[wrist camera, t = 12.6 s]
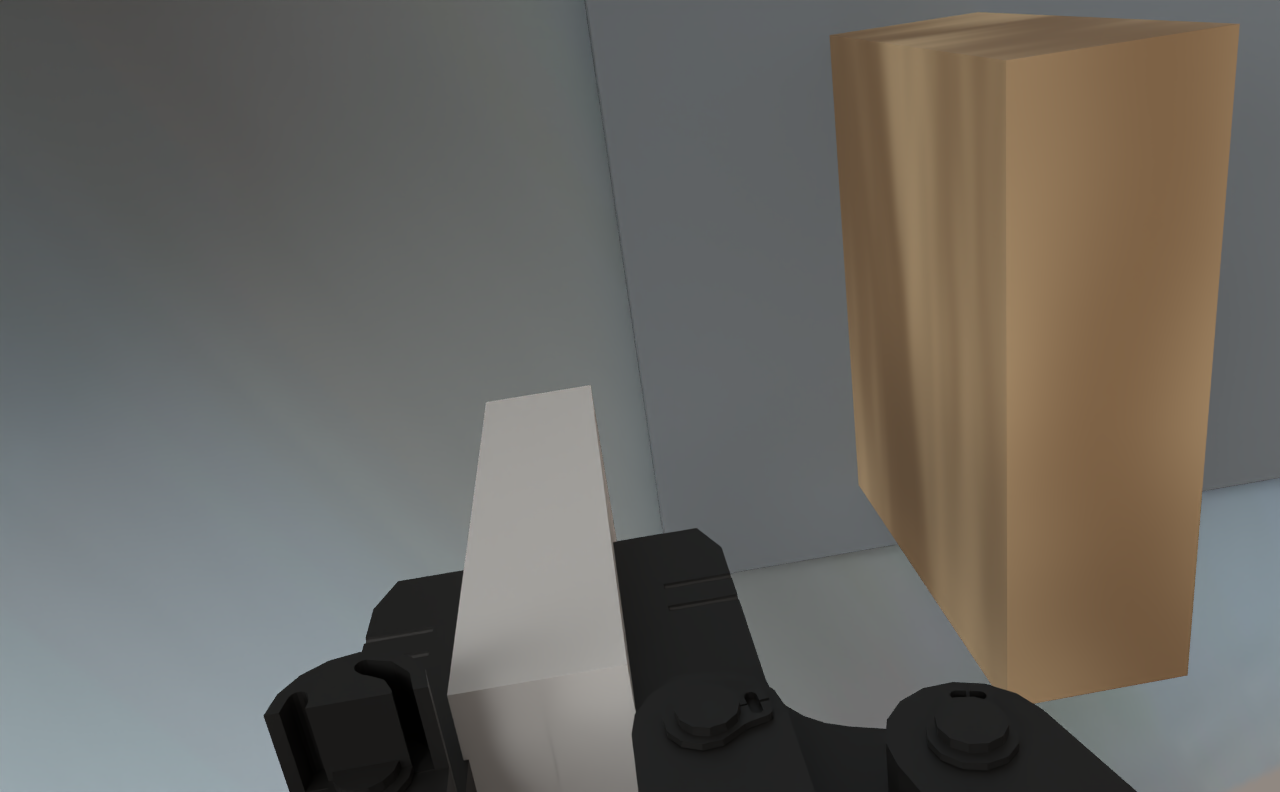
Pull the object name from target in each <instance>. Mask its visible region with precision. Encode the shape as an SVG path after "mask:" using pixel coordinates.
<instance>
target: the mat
mask: <svg viewBox="0 0 1280 792" xmlns="http://www.w3.org/2000/svg"><path fill="white" fill-rule="evenodd" d="M584 1H585V8H586V15H587V21H588V28H589V35H590V42H591V48H592V55H593V62H594V69H595V76H596V82H597V89H598V96H599V103H600V109H601V116H602V123H603V130H604V136H605V143H606V150H607V157H608V164H609V170H610V177H611V184H612V191H613V197H614V204H615V211H616V218H617V224H618V231H619V238H620V245H621V251H622V258H623V265H624V272H625V279H626V285H627V292H628V299H629V306H630V312H631V319H632V326H633V333H634V339H635V346H636V353H637V360H638V367H639V373H640V380H641V387H642V394H643V400H644V407H645V414H646V421H647V427H648V434H649V441H650V448H651V455H652V461H653V468H654V475H655V482H656V488H657V495H658V502H659V509H660V515H661V522H662V529H663V534H664V533H669V532H675V531H681V530H687V529H693V528H697V529H699V530H700V531H701V532H703V533H704V534H705V535H707V536H708V537H709V538H710V539H712V540H713V541H714V542H716V543H717V544H718V545H719V546H721V547H722V550H723V553H724V556H725V559H726V562H727V565H728V568H729V571H730V573H735V572H741V571H747V570H752V569H758V568H764V567H770V566H775V565H781V564H787V563H793V562H798V561H804V560H810V559H816V558H821V557H827V556H833V555H839V554H844V553H850V552H856V551H862V550H867V549H873V548H879V547H885V546H890V545H896V544H898V543H897V542H896V540H895V539H894V537H893V536H892V534H891V533H890V531H889V530H888V528H887V527H886V525H885V524H884V522H883V521H882V519H881V518H880V516H879V515H878V513H877V512H876V510H875V509H874V507H873V506H872V504H871V503H870V501H869V500H868V498H867V497H866V495H865V494H864V492H863V491H862V489H861V488H860V486H859V483H858V468H857V452H856V437H855V421H854V406H853V390H852V375H851V359H850V344H849V329H848V313H847V298H846V282H845V267H844V251H843V236H842V220H841V205H840V190H839V174H838V159H837V143H836V128H835V112H834V97H833V82H832V66H831V51H830V35H834V34H840V33H847V32H853V31H859V30H866V29H872V28H879V27H885V26H892V25H898V24H905V23H911V22H918V21H924V20H931V19H937V18H943V17H950V16H956V15H963V14H969V13H976V12H987V13H1009V14H1032V15H1054V16H1076V17H1099V18H1121V19H1144V20H1166V21H1188V22H1211V23H1233V24H1240V27H1239V40H1238V52H1237V65H1236V77H1235V89H1234V102H1233V114H1232V127H1231V139H1230V152H1229V164H1228V177H1227V189H1226V201H1225V214H1224V226H1223V239H1222V251H1221V264H1220V276H1219V289H1218V301H1217V313H1216V326H1215V338H1214V351H1213V363H1212V376H1211V388H1210V400H1209V413H1208V425H1207V438H1206V450H1205V463H1204V475H1203V488H1202V491H1206V490H1212V489H1218V488H1224V487H1229V486H1235V485H1241V484H1246V483H1252V482H1258V481H1264V480H1269V479H1275V478H1280V0H584Z"/></svg>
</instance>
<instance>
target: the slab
mask: <svg viewBox="0 0 1280 792" xmlns="http://www.w3.org/2000/svg"><path fill="white" fill-rule="evenodd" d="M1239 27H1240V24H1233V23H1211V22H1188V21H1166V20H1144V19H1121V18H1099V17H1076V16H1054V15H1032V14H1009V13H987V12H976V13H969V14H963V15H956V16H950V17H943V18H937V19H931V20H924V21H918V22H911V23H905V24H898V25H892V26H885V27H879V28H872V29H866V30H859V31H853V32H847V33H840V34H834V35H830V51H831V66H832V82H833V97H834V112H835V128H836V143H837V159H838V174H839V190H840V205H841V220H842V236H843V251H844V267H845V282H846V298H847V313H848V329H849V344H850V359H851V375H852V390H853V406H854V421H855V437H856V452H857V468H858V483H859V486H860V488H861V489H862V491H863V492H864V494H865V495H866V497H867V498H868V500H869V501H870V503H871V504H872V506H873V507H874V509H875V510H876V512H877V513H878V515H879V516H880V518H881V519H882V521H883V522H884V524H885V525H886V527H887V528H888V530H889V531H890V533H891V534H892V536H893V537H894V539H895V540H896V542H897V543H898V545H899V546H900V548H901V549H902V551H903V552H904V554H905V555H906V557H907V558H908V560H909V561H910V563H911V564H912V566H913V567H914V569H915V570H916V572H917V573H918V575H919V576H920V578H921V579H922V581H923V582H924V584H925V585H926V587H927V588H928V590H929V591H930V593H931V594H932V596H933V597H934V599H935V600H936V602H937V603H938V605H939V606H940V608H941V609H942V611H943V613H944V614H945V616H946V617H947V619H948V620H949V622H950V623H951V625H952V626H953V628H954V629H955V631H956V632H957V634H958V635H959V637H960V638H961V640H962V641H963V643H964V644H965V646H966V647H967V649H968V650H969V652H970V653H971V655H972V656H973V658H974V659H975V661H976V662H977V664H978V665H979V667H980V668H981V670H982V671H983V673H984V674H985V676H986V677H987V679H988V680H989V682H990V683H991V685H992V686H994V687H998V688H1001V689H1004V690H1008V691H1011V692H1014V693H1017V694H1019V695H1020V696H1022V697H1023V698H1025V699H1027V700H1028V701H1030V702H1031V703H1033V704H1034V703H1039V702H1045V701H1050V700H1056V699H1061V698H1067V697H1072V696H1077V695H1083V694H1088V693H1094V692H1099V691H1105V690H1110V689H1116V688H1121V687H1127V686H1132V685H1137V684H1143V683H1148V682H1154V681H1159V680H1165V679H1170V678H1176V677H1181V676H1186V675H1187V674H1188V662H1189V649H1190V637H1191V624H1192V612H1193V600H1194V587H1195V575H1196V562H1197V550H1198V537H1199V525H1200V512H1201V500H1202V488H1203V475H1204V463H1205V450H1206V438H1207V425H1208V413H1209V400H1210V388H1211V376H1212V363H1213V351H1214V338H1215V326H1216V313H1217V301H1218V289H1219V276H1220V264H1221V251H1222V239H1223V226H1224V214H1225V201H1226V189H1227V177H1228V164H1229V152H1230V139H1231V127H1232V114H1233V102H1234V89H1235V77H1236V65H1237V52H1238V40H1239Z"/></svg>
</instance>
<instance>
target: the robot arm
mask: <svg viewBox="0 0 1280 792" xmlns="http://www.w3.org/2000/svg"><path fill="white" fill-rule="evenodd" d="M264 718H265V721H266V724H267V727H268V730H269V733H270V736H271V739H272V742H273V745H274V748H275V751H276V753H277V756H278V759H279V762H280V765H281V768H282V771H283V774H284V777H285V780H286V783H287V786H288V789H289V791H290V792H1137V791H1135V790H1134V789H1133V788H1132V787H1131V786H1130V785H1129V784H1127V783H1126V782H1125V781H1124V780H1123V779H1122V778H1121V777H1119V776H1118V775H1117V774H1116V773H1115V772H1114V771H1113V770H1111V769H1110V768H1109V767H1108V766H1107V765H1106V764H1105V763H1103V762H1102V761H1101V760H1100V759H1099V758H1098V757H1097V756H1095V755H1094V754H1093V753H1092V752H1091V751H1090V750H1088V749H1087V748H1086V747H1085V746H1084V745H1083V744H1082V743H1080V742H1079V741H1078V740H1077V739H1076V738H1075V737H1074V736H1072V735H1071V734H1070V733H1069V732H1068V731H1067V730H1066V729H1064V728H1063V727H1062V726H1061V725H1060V724H1059V723H1058V722H1056V721H1055V720H1054V719H1053V718H1052V717H1051V716H1050V715H1048V714H1047V713H1046V712H1045V711H1044V710H1043V709H1041V708H1039V707H1038V706H1036V705H1035V704H1033V703H1031V702H1030V701H1028V700H1027V699H1025V698H1023V697H1022V696H1020V695H1019V694H1017V693H1014V692H1011V691H1008V690H1004V689H1001V688H998V687H994V686H991V685H988V684H979V683H959V682H951V683H946V684H941V685H937V686H932V687H927V688H923V689H921V690H919V691H918V692H916V693H914V694H912V695H911V696H909V697H907V698H905V699H903V700H902V701H900V702H899V704H898V705H897V707H896V708H895V709H894V711H893V712H892V714H891V715H890V716H889V718H888V719H887V728H886V729H879V728H863V727H848V726H842V725H835V724H828V723H823V722H820V721H817V720H814V719H811V718H808V717H805V716H803V715H801V714H799V713H798V712H796V711H794V710H792V709H791V708H789V707H787V706H786V705H785V704H784V703H783V702H782V701H781V699H780V698H779V696H778V695H777V693H776V692H775V690H773V689H772V688H770V687H769V685H768V683H767V681H766V679H765V676H764V673H763V670H762V667H761V664H760V661H759V658H758V655H757V652H756V649H755V646H754V643H753V640H752V637H751V634H750V631H749V628H748V625H747V622H746V619H745V616H744V613H743V610H742V607H741V604H740V601H739V600H738V597H737V592H736V589H735V586H734V583H733V580H732V578H731V576H730V571H729V568H728V565H727V562H726V559H725V556H724V553H723V550H722V547H721V546H719V545H718V544H717V543H716V542H714V541H713V540H712V539H710V538H709V537H708V536H707V535H705V534H704V533H703V532H701V531H700V530H699V529H697V528H693V529H687V530H681V531H675V532H669V533H664V534H658V535H652V536H646V537H640V538H634V539H628V540H622V541H617V540H616V534H615V528H614V522H613V516H612V511H611V505H610V499H609V493H608V487H607V481H606V475H605V469H604V463H603V457H602V451H601V445H600V439H599V433H598V427H597V421H596V415H595V409H594V404H593V398H592V392H591V386H590V385H588V386H582V387H575V388H569V389H563V390H557V391H551V392H545V393H539V394H532V395H526V396H520V397H514V398H508V399H502V400H496V401H489V402H486V407H485V414H484V422H483V429H482V437H481V444H480V452H479V459H478V467H477V474H476V482H475V489H474V497H473V504H472V512H471V519H470V527H469V534H468V542H467V550H466V557H465V565H464V570H463V571H457V572H451V573H445V574H439V575H433V576H427V577H421V578H415V579H409V580H403V581H398V582H397V583H396V584H395V585H394V587H393V588H392V589H391V590H390V591H389V592H388V593H387V595H386V596H385V597H384V598H383V599H382V600H381V601H380V602H379V604H378V605H377V606H376V607H375V608H374V609H373V613H372V617H371V620H370V624H369V628H368V631H367V635H366V644H364V646H363V650H362V652H358V653H355V654H351V655H348V656H344V657H341V658H337V659H334V660H330V661H328V662H326V663H324V664H322V665H320V666H318V667H316V668H314V669H312V670H310V671H308V672H306V673H304V674H302V675H300V676H299V677H298V678H297V679H295V680H294V681H293V682H292V683H291V684H289V685H288V686H287V687H286V688H285V689H283V690H282V691H281V692H280V693H279V694H277V696H276V697H275V699H274V700H273V702H272V703H271V705H270V707H269V708H268V710H267V711H266V713H265V714H264Z"/></svg>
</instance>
